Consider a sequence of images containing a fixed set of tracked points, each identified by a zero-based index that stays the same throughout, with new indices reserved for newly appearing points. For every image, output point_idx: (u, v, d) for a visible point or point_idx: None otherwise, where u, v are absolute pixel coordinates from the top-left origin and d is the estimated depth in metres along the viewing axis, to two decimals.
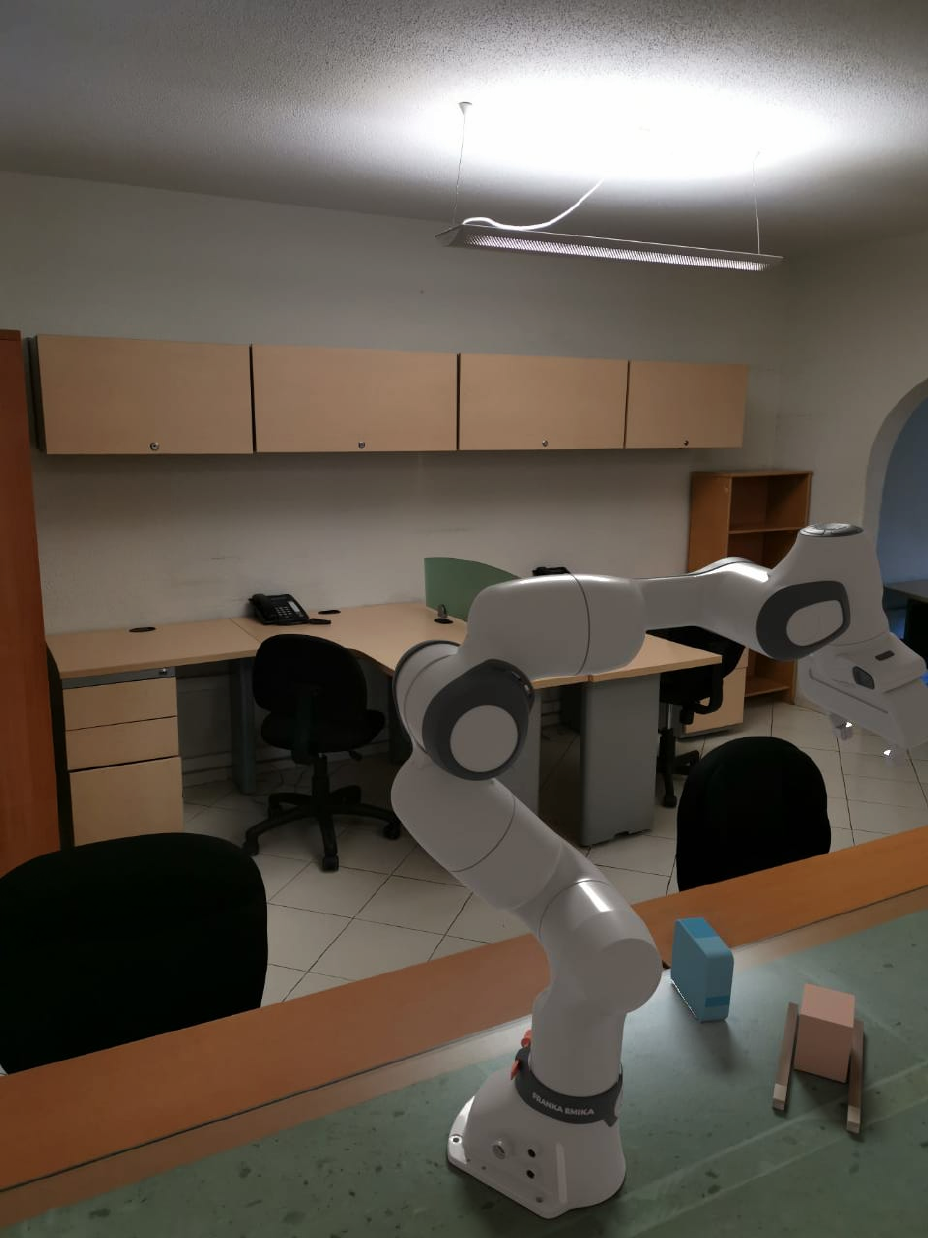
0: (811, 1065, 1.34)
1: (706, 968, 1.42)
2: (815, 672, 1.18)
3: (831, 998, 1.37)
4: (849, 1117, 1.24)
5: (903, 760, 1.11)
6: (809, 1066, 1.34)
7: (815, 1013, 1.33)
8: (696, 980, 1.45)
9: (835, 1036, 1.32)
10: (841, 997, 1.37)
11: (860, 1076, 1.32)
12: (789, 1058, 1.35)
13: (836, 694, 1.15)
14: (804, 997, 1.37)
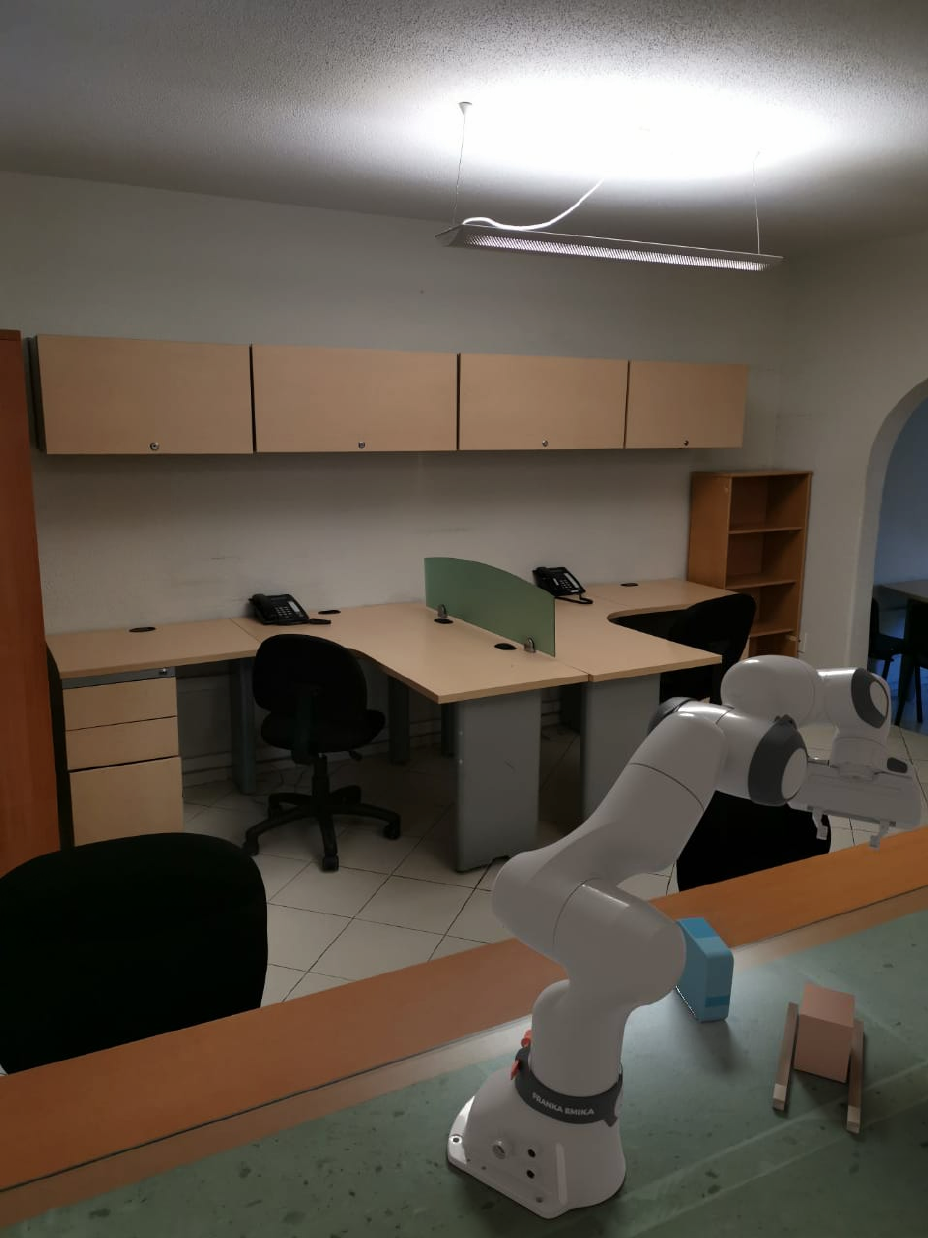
0: (811, 1065, 1.34)
1: (706, 968, 1.42)
2: (815, 777, 1.55)
3: (831, 998, 1.37)
4: (849, 1117, 1.24)
5: None
6: (809, 1066, 1.34)
7: (815, 1013, 1.33)
8: (696, 980, 1.45)
9: (835, 1036, 1.32)
10: (841, 997, 1.37)
11: (860, 1076, 1.32)
12: (789, 1058, 1.35)
13: (840, 790, 1.53)
14: (804, 997, 1.37)
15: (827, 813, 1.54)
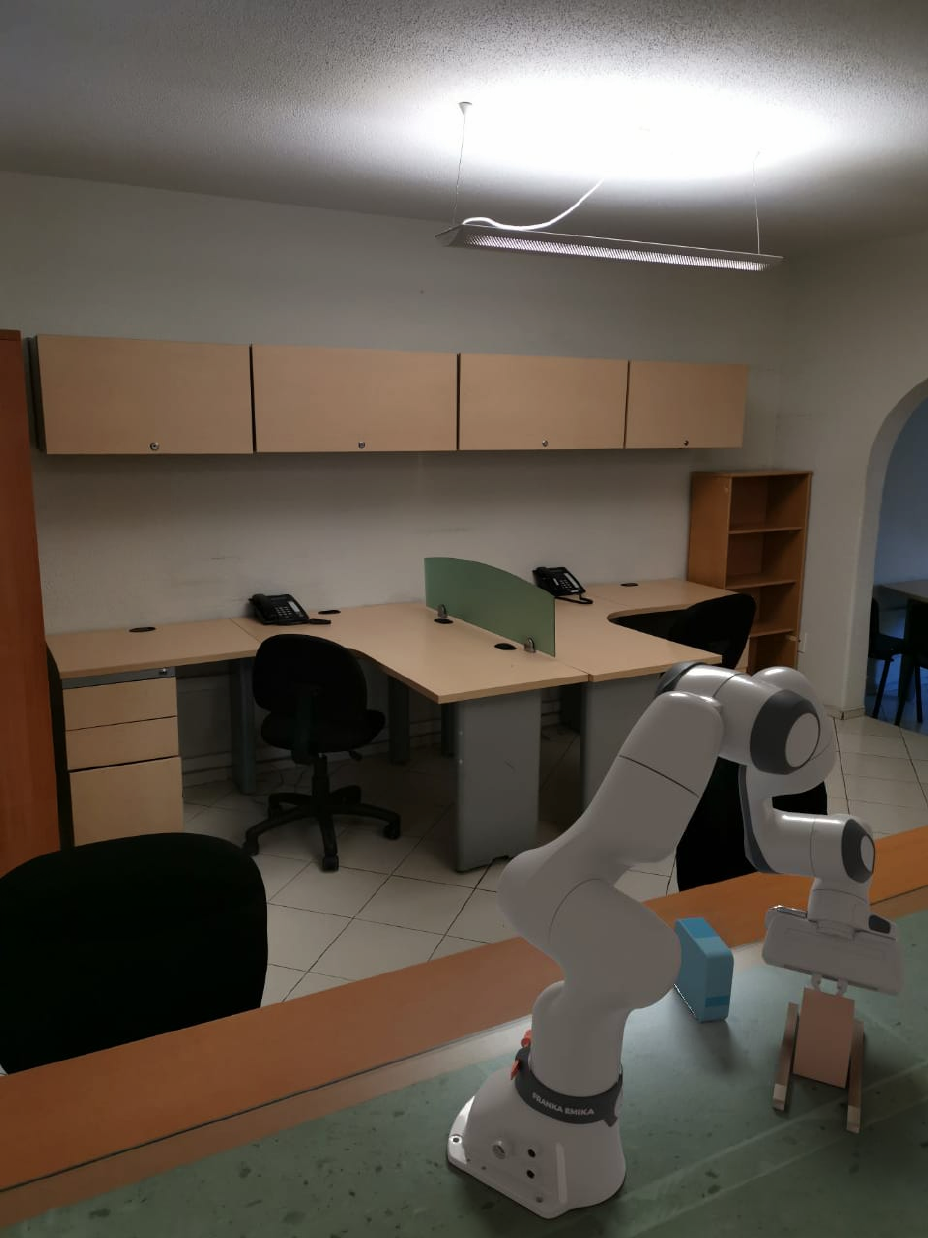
0: (810, 1070, 1.33)
1: (706, 968, 1.42)
2: (792, 932, 1.45)
3: (831, 1002, 1.36)
4: (849, 1117, 1.24)
5: None
6: (808, 1071, 1.33)
7: (815, 1018, 1.32)
8: (696, 980, 1.45)
9: (835, 1041, 1.30)
10: (841, 1002, 1.36)
11: (860, 1076, 1.32)
12: (789, 1058, 1.35)
13: (819, 949, 1.42)
14: (803, 1002, 1.36)
15: (805, 972, 1.44)
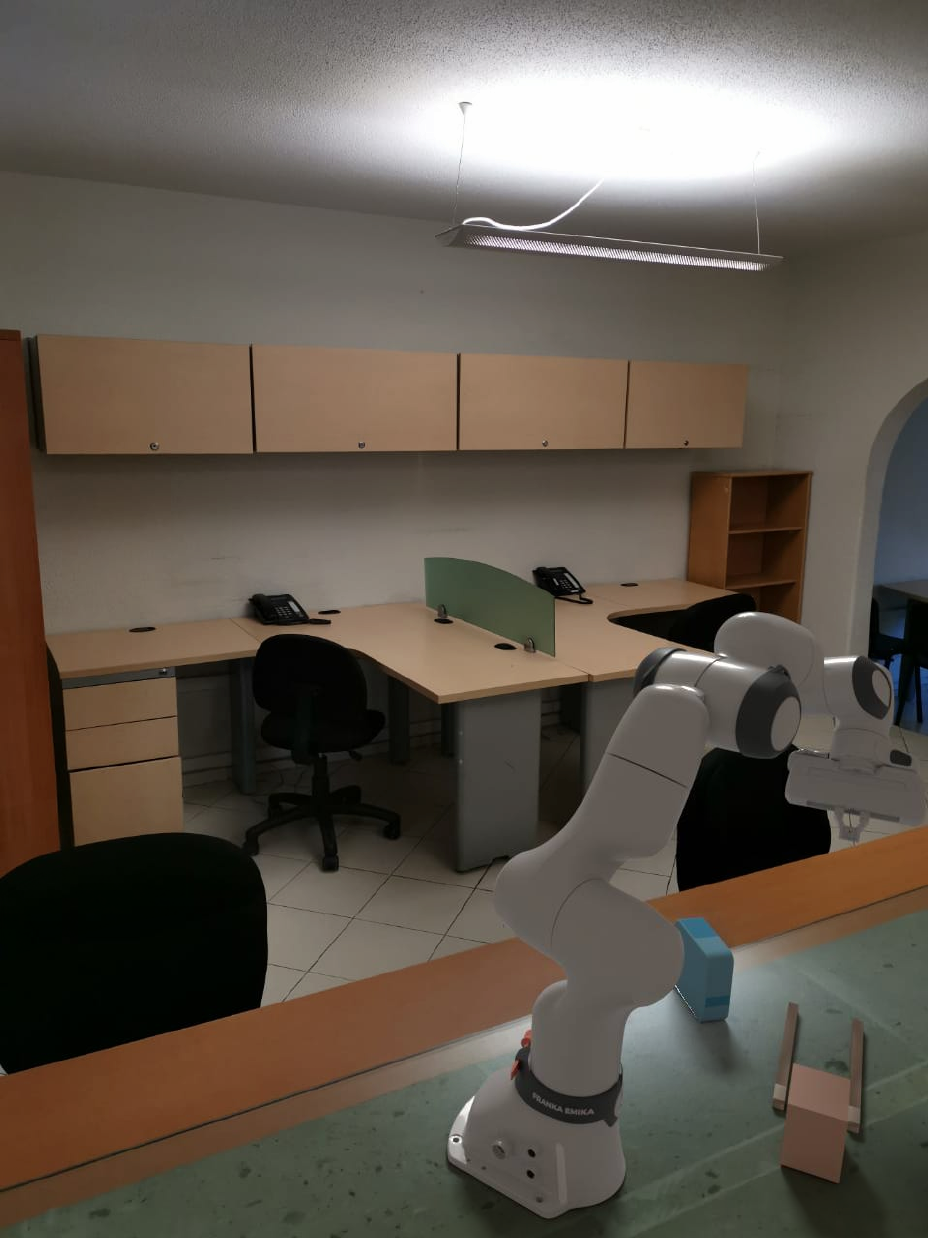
0: (800, 1162, 1.17)
1: (706, 968, 1.42)
2: (815, 771, 1.48)
3: (823, 1083, 1.20)
4: (849, 1117, 1.24)
5: None
6: (798, 1163, 1.17)
7: (805, 1102, 1.16)
8: (696, 980, 1.45)
9: (827, 1131, 1.14)
10: (835, 1081, 1.20)
11: (860, 1076, 1.32)
12: (789, 1058, 1.35)
13: (841, 784, 1.45)
14: (792, 1082, 1.20)
15: (827, 808, 1.47)
